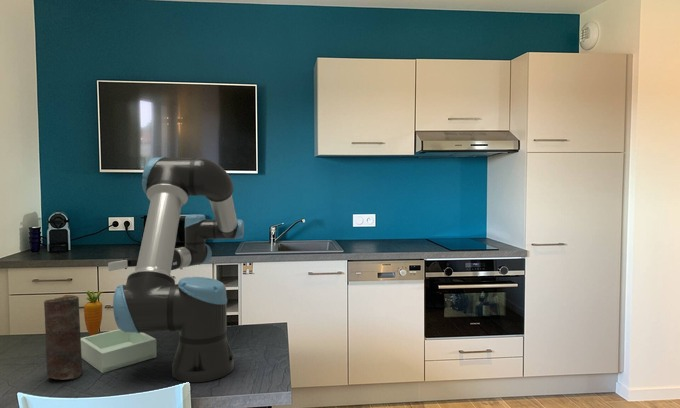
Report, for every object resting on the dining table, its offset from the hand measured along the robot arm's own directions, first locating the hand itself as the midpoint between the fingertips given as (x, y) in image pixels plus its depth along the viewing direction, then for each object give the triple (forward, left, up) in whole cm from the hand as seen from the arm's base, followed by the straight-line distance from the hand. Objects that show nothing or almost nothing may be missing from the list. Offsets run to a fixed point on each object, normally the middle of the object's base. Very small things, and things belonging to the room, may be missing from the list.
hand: (122, 269), depth 143 cm
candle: (-26, +25, -20) cm, 41 cm away
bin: (-22, +11, -20) cm, 32 cm away
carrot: (-2, +10, -20) cm, 22 cm away
